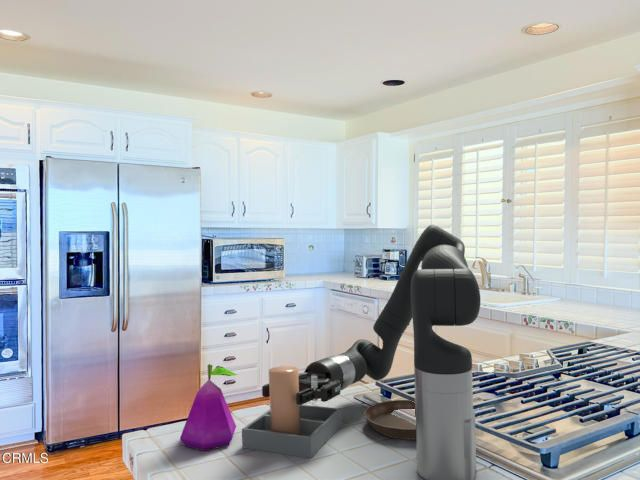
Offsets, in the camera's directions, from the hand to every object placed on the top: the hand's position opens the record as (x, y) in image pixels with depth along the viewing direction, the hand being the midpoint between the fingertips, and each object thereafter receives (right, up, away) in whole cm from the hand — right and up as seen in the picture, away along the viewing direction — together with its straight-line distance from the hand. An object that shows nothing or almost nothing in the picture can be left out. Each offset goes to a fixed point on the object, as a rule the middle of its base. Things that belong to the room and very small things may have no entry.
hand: (280, 395), depth 95 cm
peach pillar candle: (+1, -8, +1) cm, 8 cm away
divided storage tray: (+2, -9, +5) cm, 11 cm away
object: (+25, -9, +8) cm, 28 cm away
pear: (-14, -10, +4) cm, 18 cm away
